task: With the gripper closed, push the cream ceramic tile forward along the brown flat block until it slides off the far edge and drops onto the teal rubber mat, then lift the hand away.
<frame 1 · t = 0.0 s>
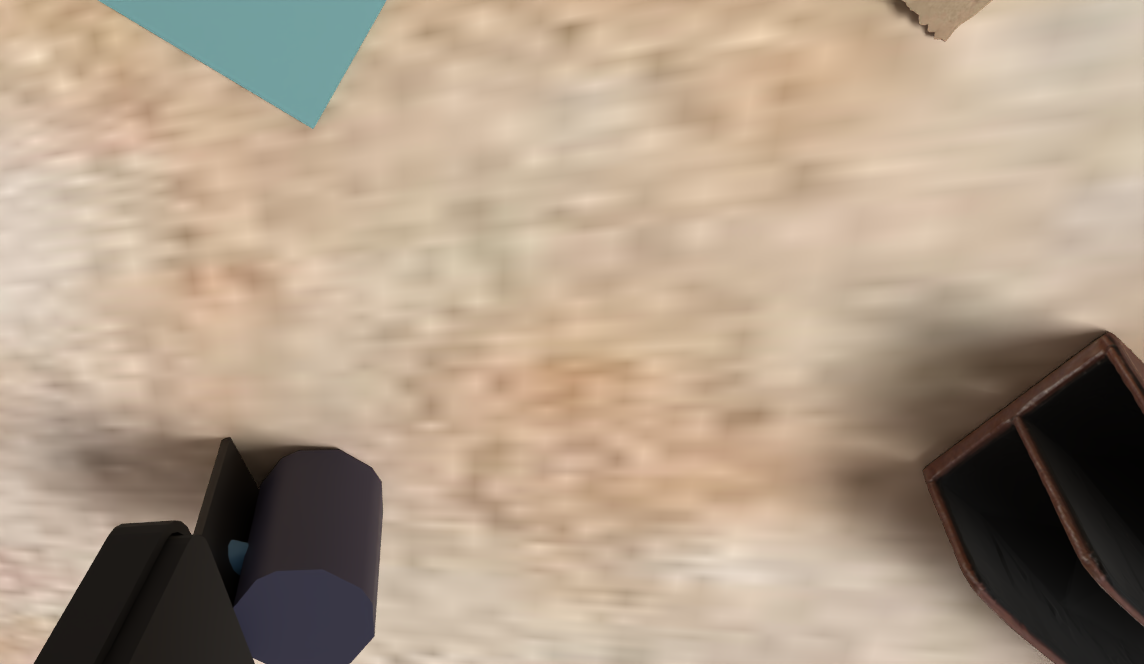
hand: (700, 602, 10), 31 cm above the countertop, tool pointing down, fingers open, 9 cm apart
speaker: (322, 477, 51), on the countertop
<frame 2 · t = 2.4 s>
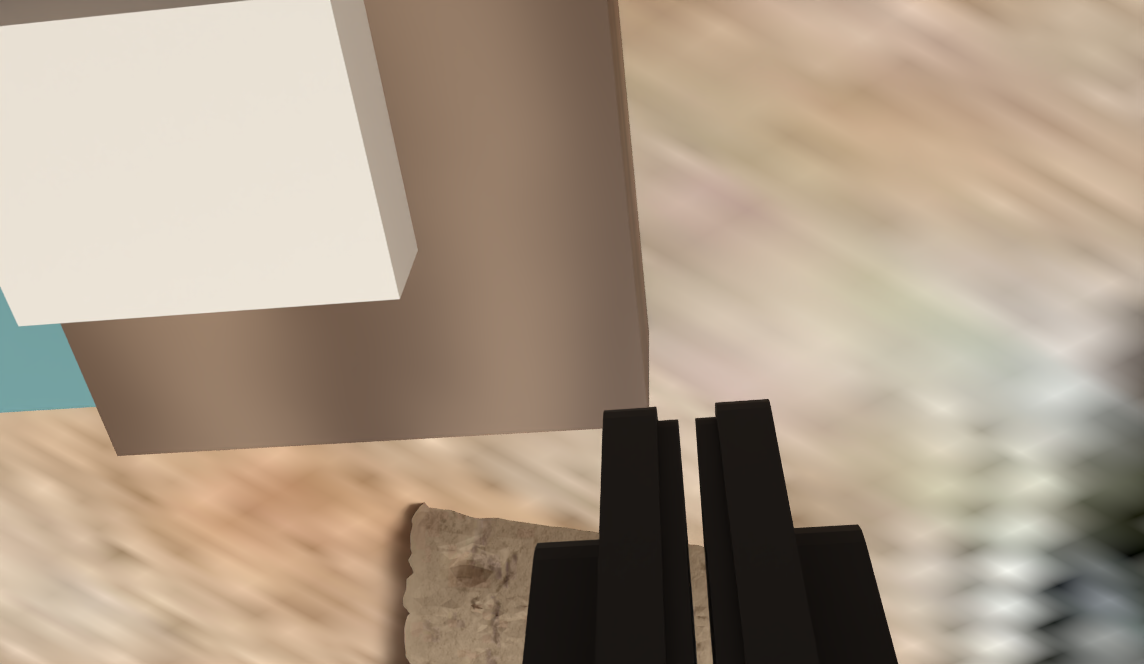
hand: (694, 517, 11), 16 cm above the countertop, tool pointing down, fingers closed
clay tablet: (560, 651, 37), on the countertop
tile: (195, 134, 22), point 4 cm above the countertop, touching brown flat block
brown flat block: (338, 58, 25), on the countertop
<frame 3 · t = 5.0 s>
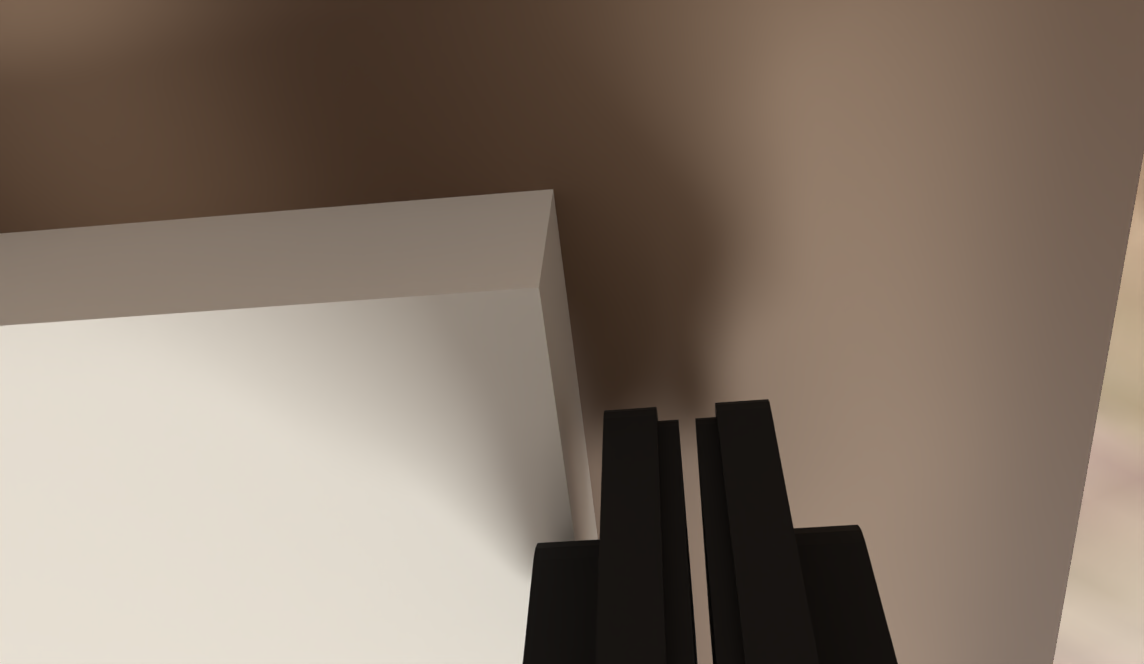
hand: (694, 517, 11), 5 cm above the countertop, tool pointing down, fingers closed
tile: (248, 446, 13), point 4 cm above the countertop, touching brown flat block, gripper
brown flat block: (542, 269, 16), on the countertop
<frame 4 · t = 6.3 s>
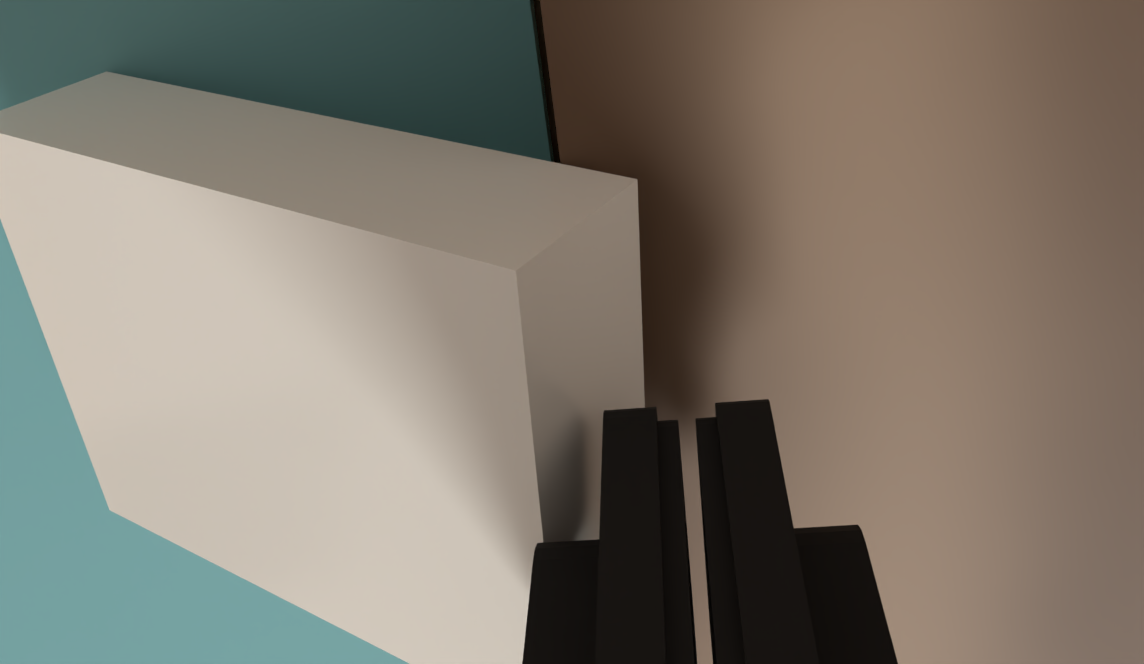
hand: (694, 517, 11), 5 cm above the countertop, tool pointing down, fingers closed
mat: (177, 301, 17), on the countertop
tile: (372, 340, 14), point 2 cm above the countertop, tilted 30°
brown flat block: (1062, 233, 15), on the countertop
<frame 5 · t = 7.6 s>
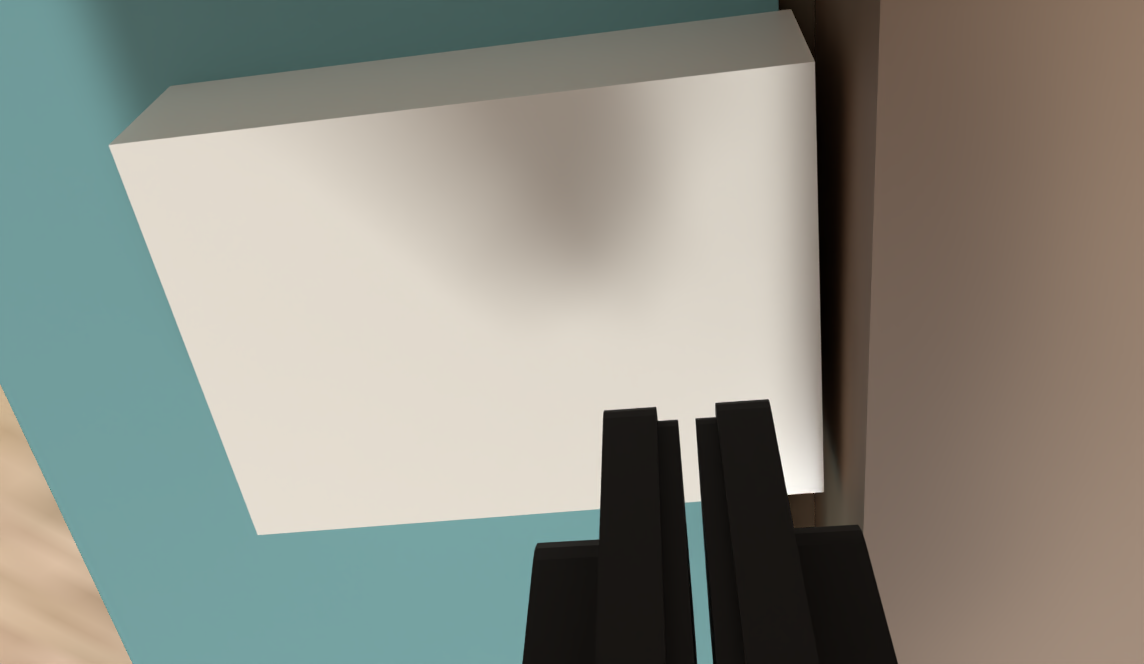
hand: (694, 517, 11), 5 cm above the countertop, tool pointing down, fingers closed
mat: (371, 294, 16), on the countertop
tile: (510, 257, 15), resting on mat
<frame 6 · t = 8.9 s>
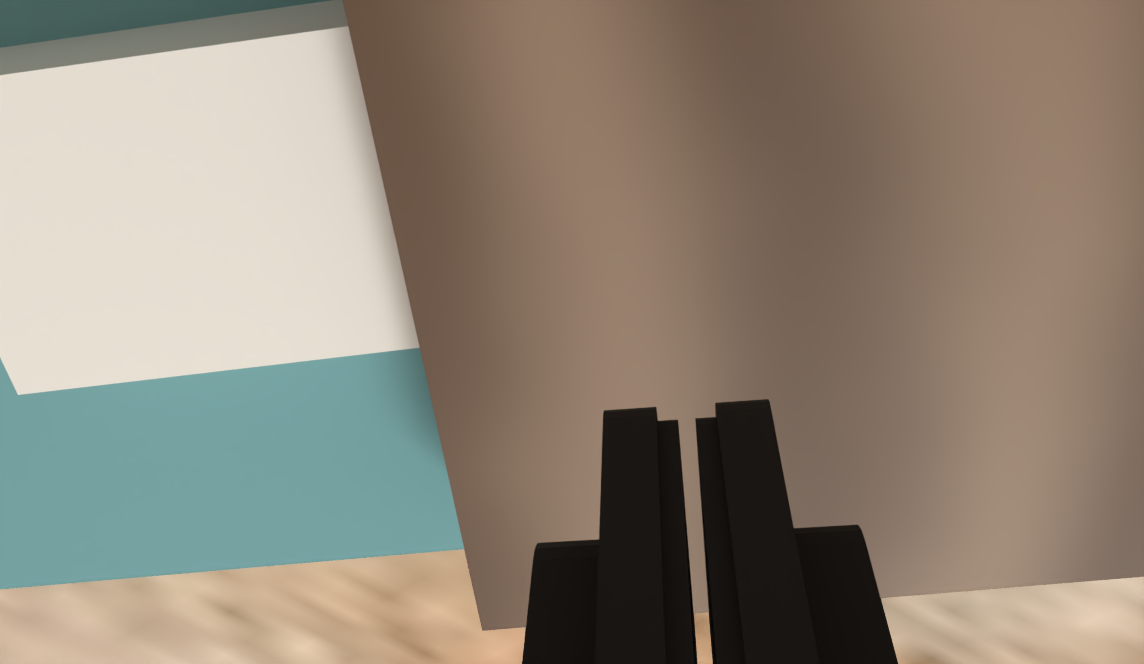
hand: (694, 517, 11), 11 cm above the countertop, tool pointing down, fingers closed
mat: (108, 216, 22), on the countertop
tile: (202, 182, 21), resting on mat
brown flat block: (769, 144, 21), on the countertop
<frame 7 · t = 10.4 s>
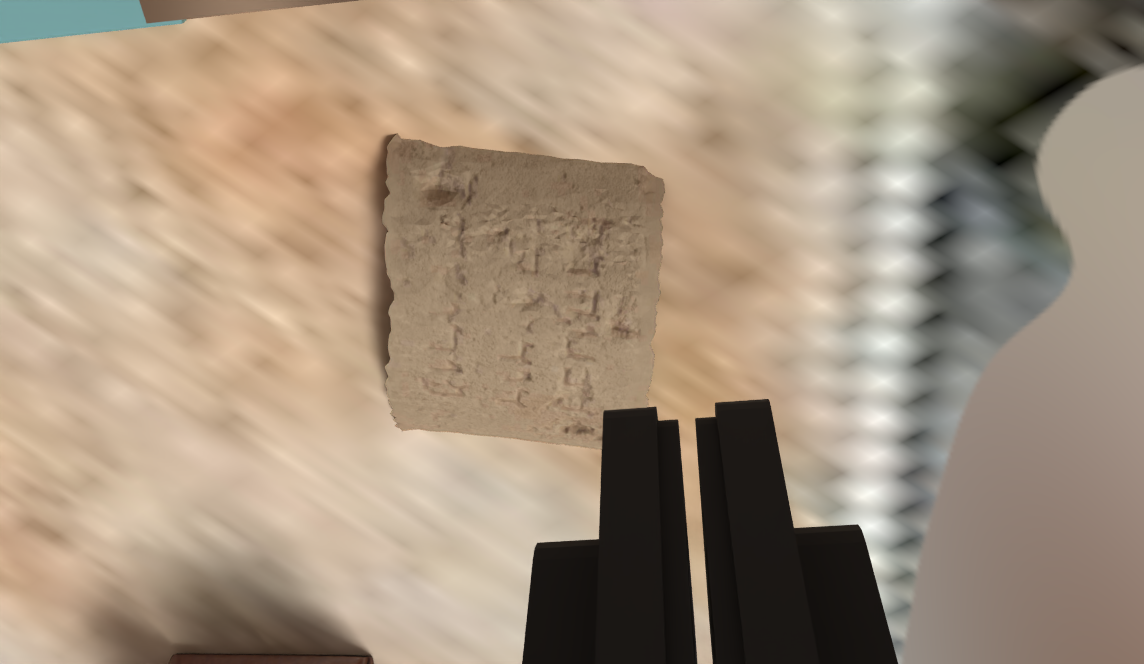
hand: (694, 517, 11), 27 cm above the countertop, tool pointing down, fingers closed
clay tablet: (523, 297, 42), on the countertop
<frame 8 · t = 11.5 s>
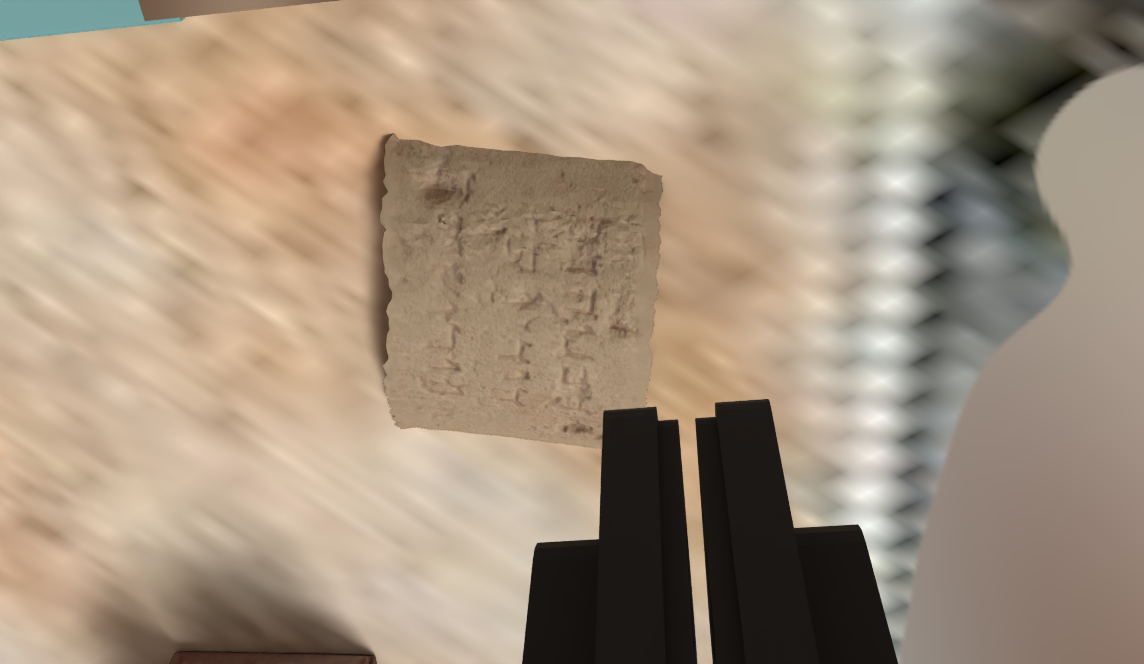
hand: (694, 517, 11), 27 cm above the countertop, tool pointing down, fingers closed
clay tablet: (521, 296, 42), on the countertop
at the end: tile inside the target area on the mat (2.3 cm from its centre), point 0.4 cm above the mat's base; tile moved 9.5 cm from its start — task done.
